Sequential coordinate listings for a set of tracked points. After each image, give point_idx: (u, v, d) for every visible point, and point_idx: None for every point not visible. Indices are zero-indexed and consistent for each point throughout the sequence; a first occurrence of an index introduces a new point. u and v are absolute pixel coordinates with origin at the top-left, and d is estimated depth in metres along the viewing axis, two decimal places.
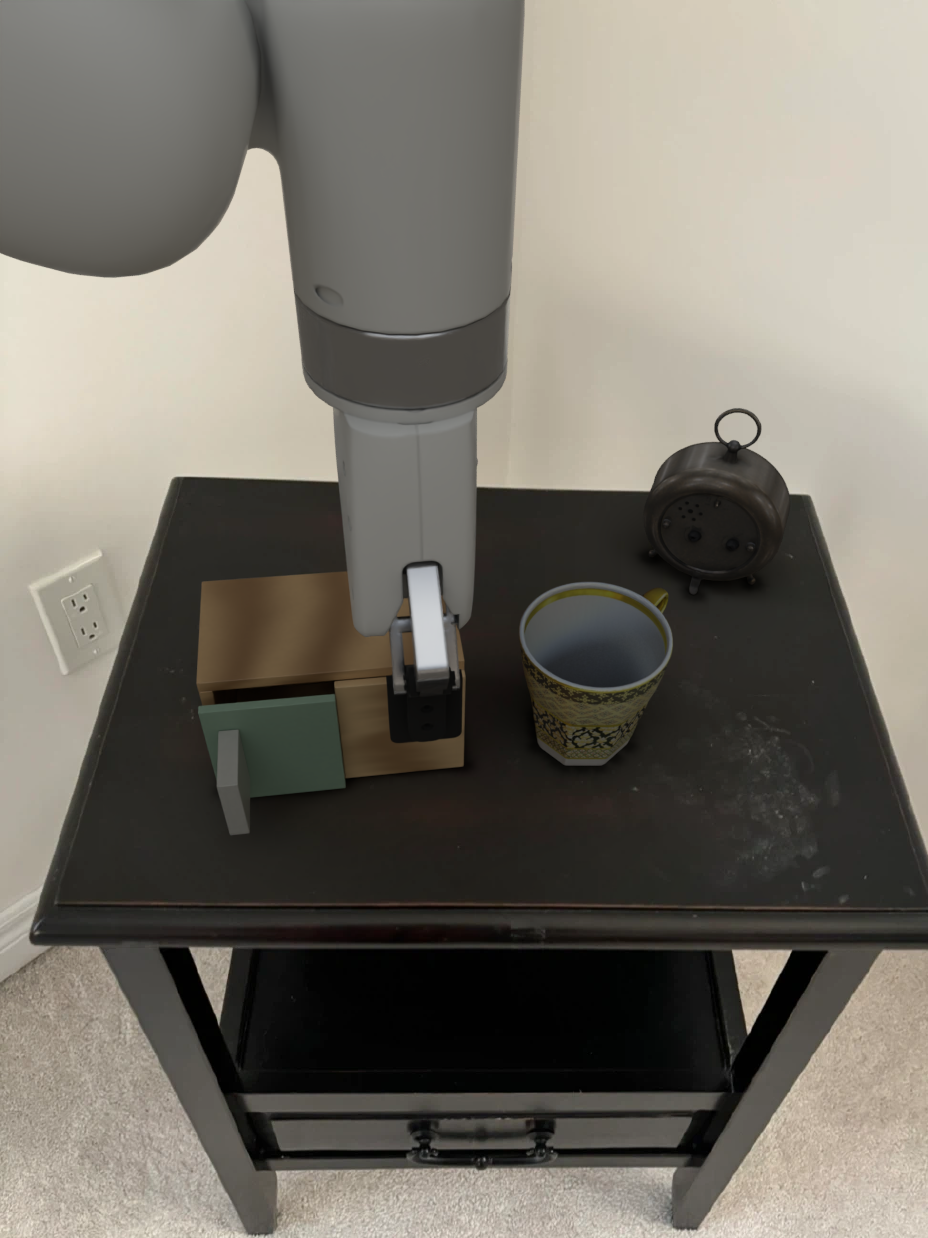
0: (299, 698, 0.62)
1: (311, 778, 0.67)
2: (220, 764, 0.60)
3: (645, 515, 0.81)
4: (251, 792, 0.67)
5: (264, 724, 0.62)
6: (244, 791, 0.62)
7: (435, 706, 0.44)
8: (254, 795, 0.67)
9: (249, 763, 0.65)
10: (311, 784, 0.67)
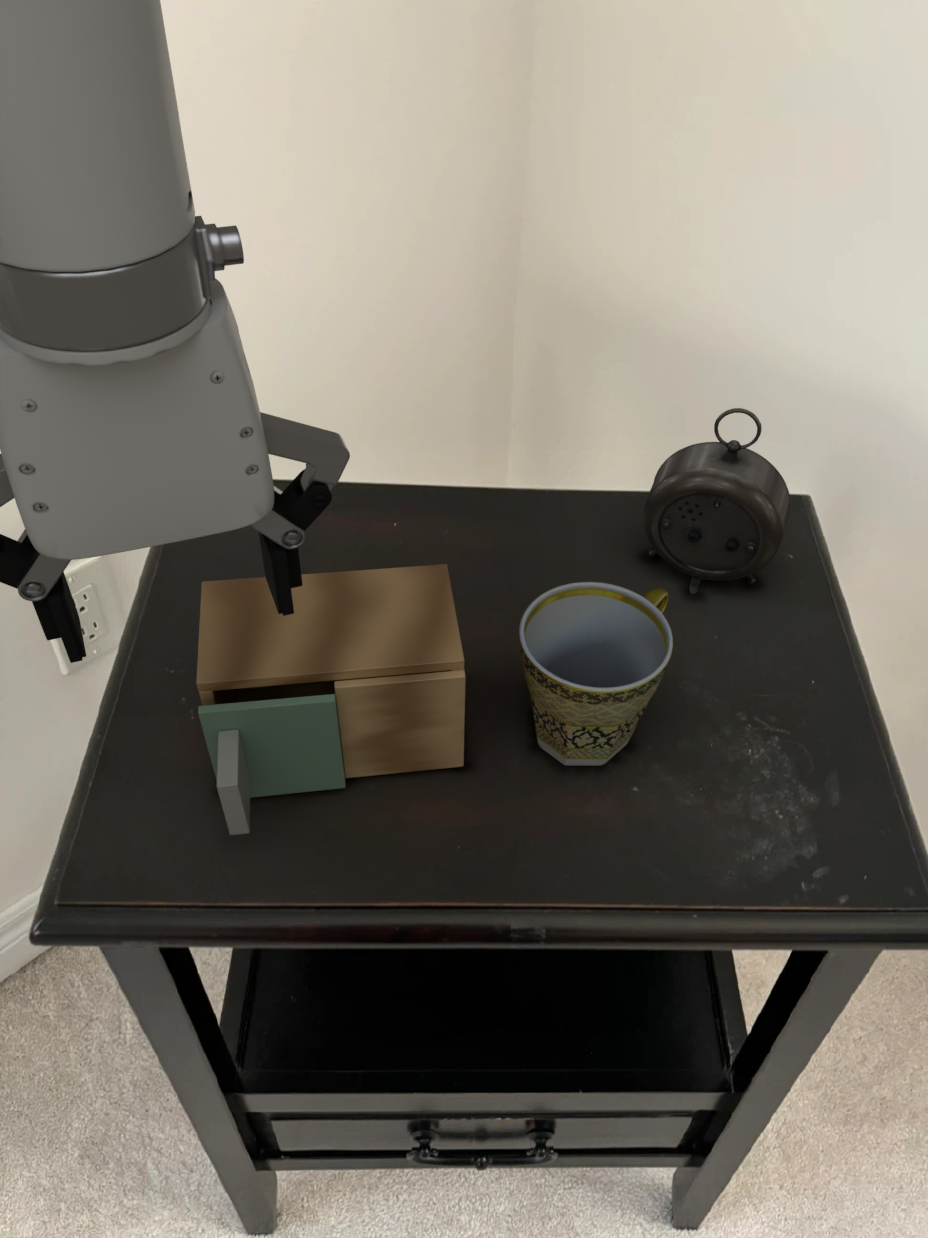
0: (299, 698, 0.62)
1: (311, 778, 0.67)
2: (220, 764, 0.60)
3: (645, 515, 0.81)
4: (251, 792, 0.67)
5: (264, 724, 0.62)
6: (244, 791, 0.62)
7: None
8: (254, 795, 0.67)
9: (249, 763, 0.65)
10: (311, 784, 0.67)
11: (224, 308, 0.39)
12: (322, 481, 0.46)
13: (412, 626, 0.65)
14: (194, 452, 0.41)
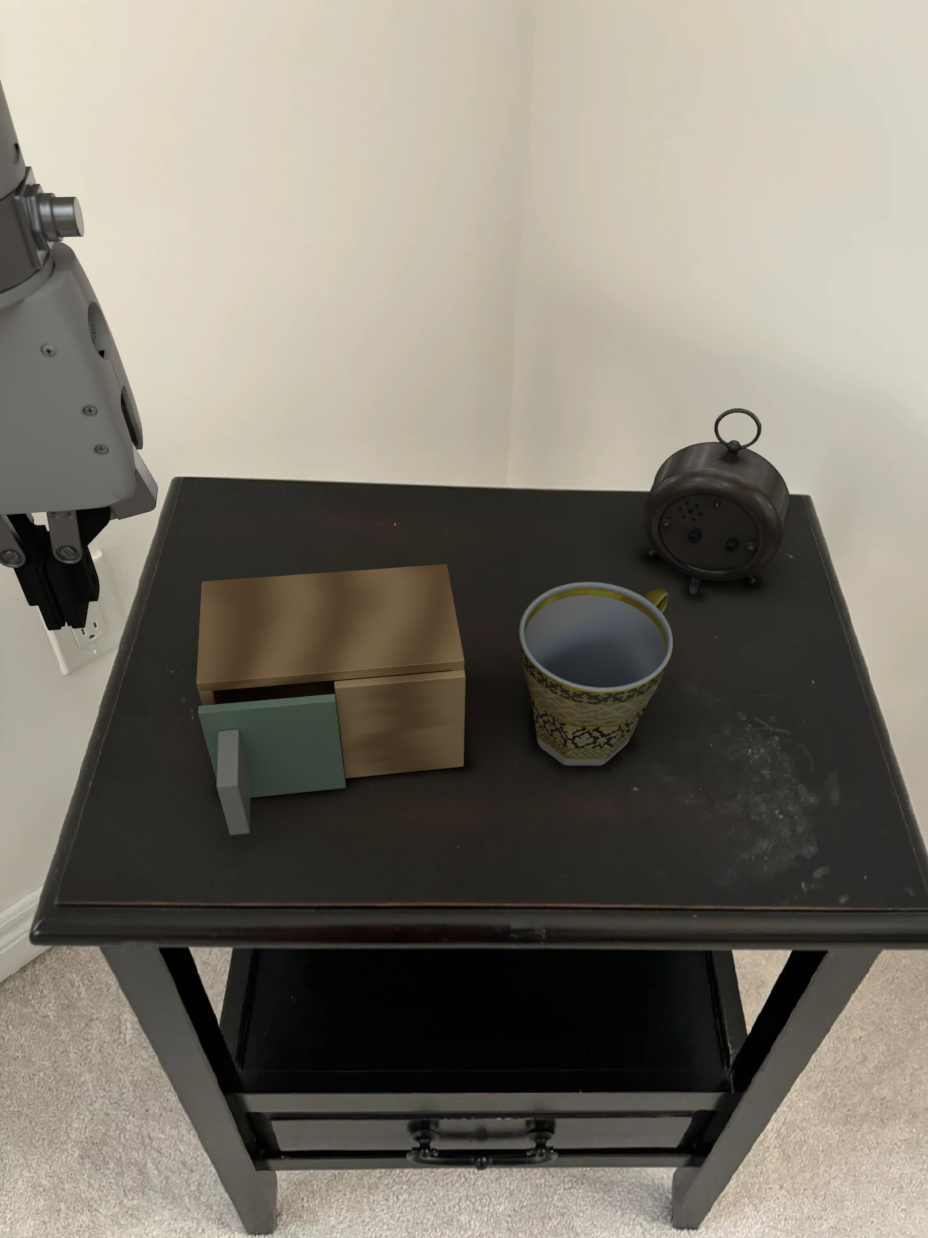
0: (299, 698, 0.62)
1: (311, 778, 0.67)
2: (220, 764, 0.60)
3: (645, 515, 0.81)
4: (251, 792, 0.67)
5: (264, 724, 0.62)
6: (244, 791, 0.62)
7: None
8: (254, 795, 0.67)
9: (249, 763, 0.65)
10: (311, 784, 0.67)
11: (61, 281, 0.37)
12: (111, 507, 0.45)
13: (412, 626, 0.65)
14: (32, 424, 0.40)
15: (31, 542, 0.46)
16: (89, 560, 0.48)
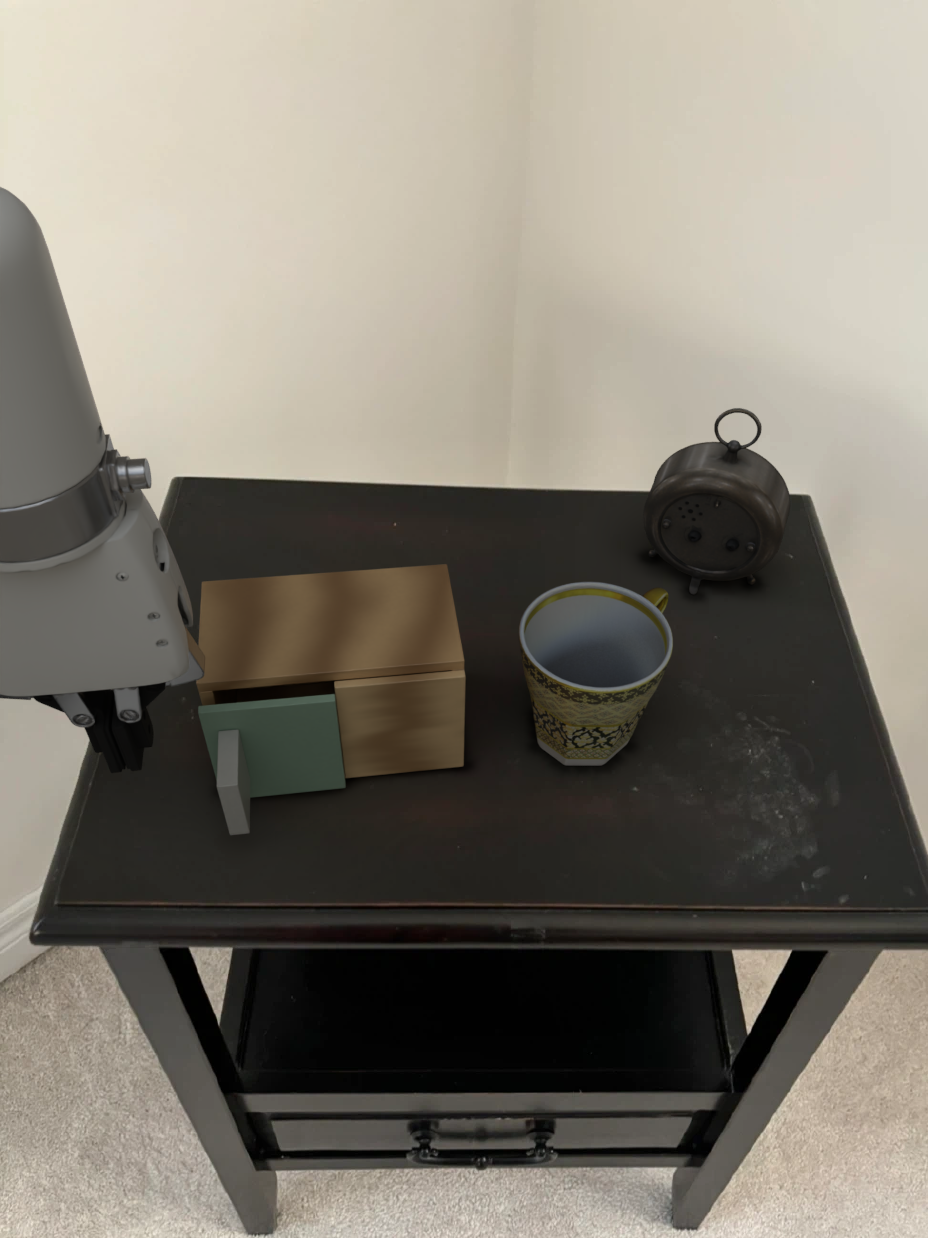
0: (299, 698, 0.62)
1: (311, 778, 0.67)
2: (220, 764, 0.60)
3: (645, 515, 0.81)
4: (251, 792, 0.67)
5: (264, 724, 0.62)
6: (244, 791, 0.62)
7: None
8: (254, 795, 0.67)
9: (249, 763, 0.65)
10: (311, 784, 0.67)
11: (133, 522, 0.46)
12: None
13: (412, 626, 0.65)
14: (107, 629, 0.48)
15: (99, 705, 0.55)
16: (145, 714, 0.57)
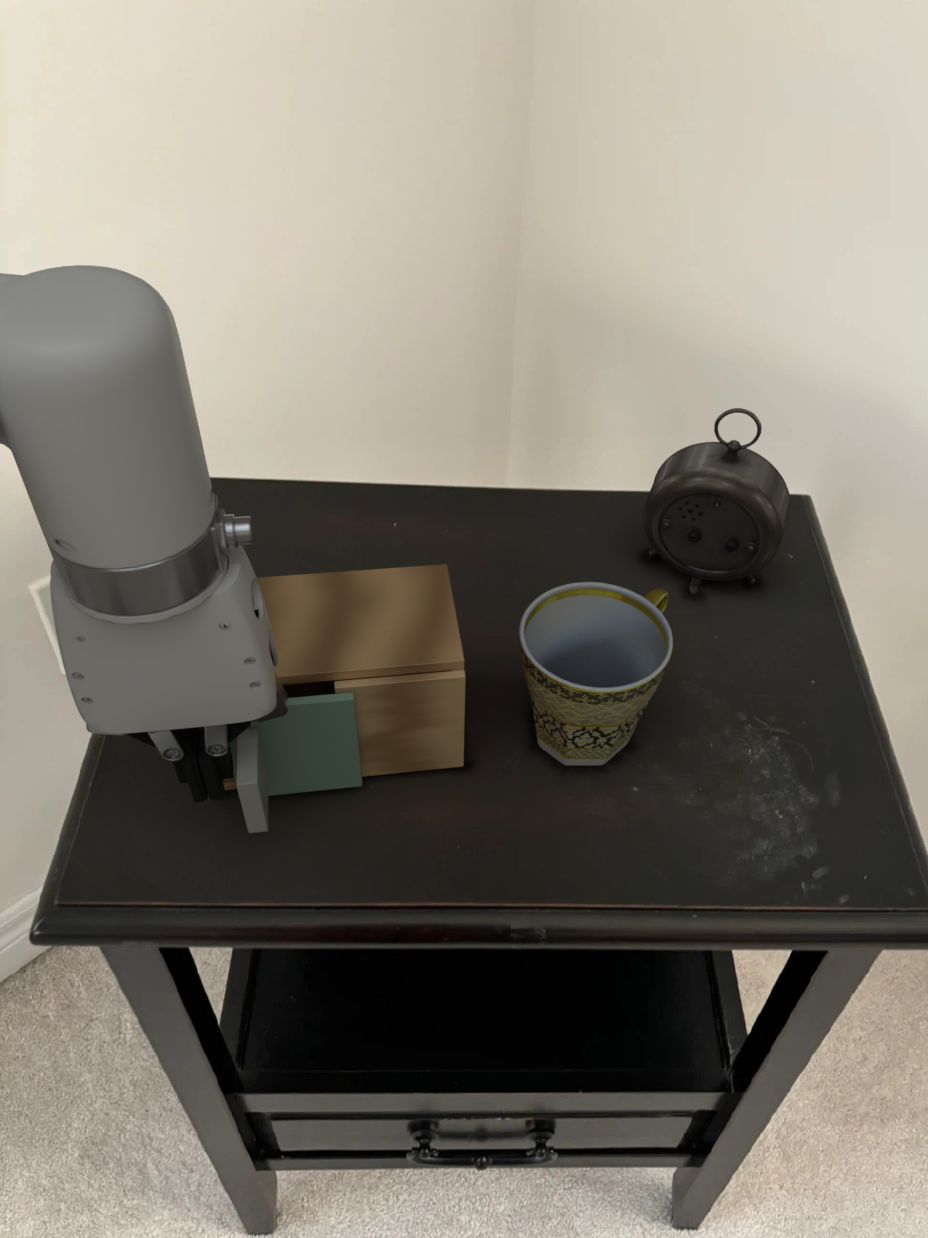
0: (318, 696, 0.62)
1: (328, 776, 0.67)
2: (239, 762, 0.60)
3: (645, 515, 0.81)
4: (268, 790, 0.67)
5: (283, 722, 0.62)
6: (263, 789, 0.62)
7: None
8: (271, 793, 0.67)
9: (267, 761, 0.65)
10: (328, 782, 0.67)
11: (236, 575, 0.49)
12: None
13: (412, 626, 0.65)
14: (206, 673, 0.51)
15: (187, 740, 0.58)
16: (228, 747, 0.60)
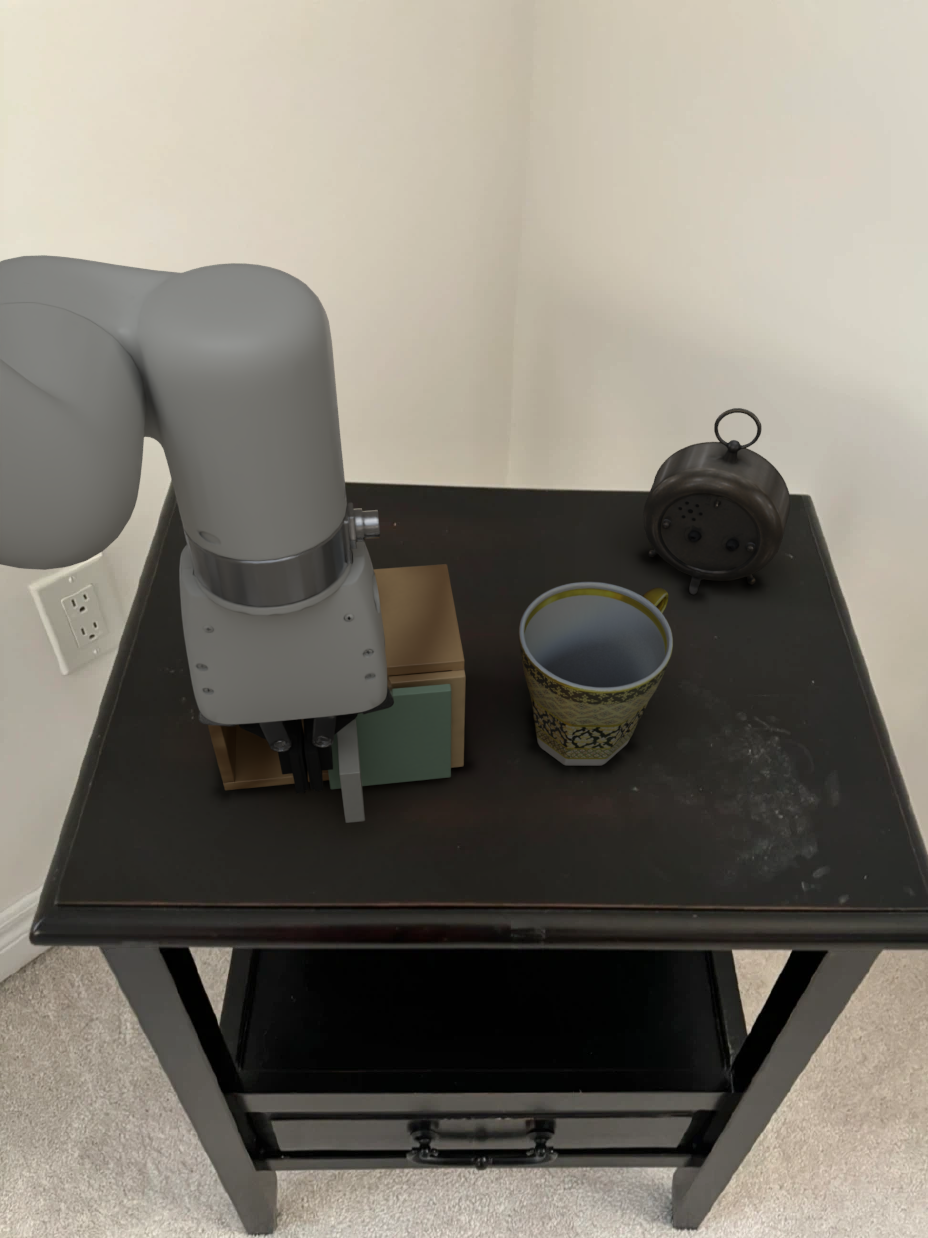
0: (416, 688, 0.63)
1: (419, 767, 0.68)
2: (341, 752, 0.61)
3: (645, 515, 0.81)
4: None
5: (380, 713, 0.63)
6: None
7: None
8: (362, 784, 0.68)
9: (361, 752, 0.66)
10: (418, 773, 0.68)
11: (361, 568, 0.50)
12: None
13: (412, 626, 0.65)
14: (326, 664, 0.52)
15: (293, 731, 0.59)
16: None
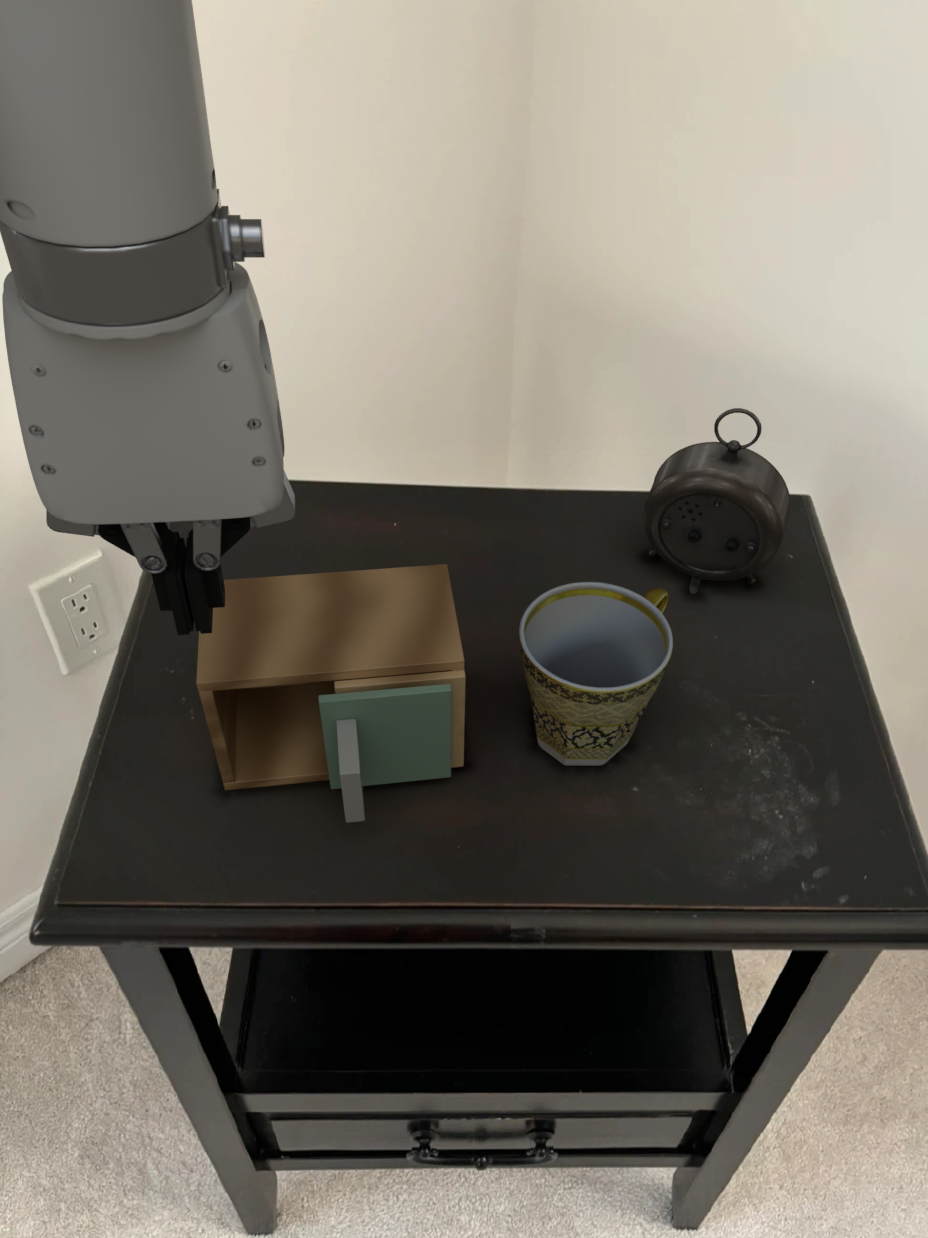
0: (416, 688, 0.63)
1: (419, 767, 0.68)
2: (341, 752, 0.61)
3: (645, 515, 0.81)
4: None
5: (381, 713, 0.63)
6: (361, 779, 0.63)
7: None
8: (362, 784, 0.68)
9: (362, 752, 0.66)
10: (418, 773, 0.68)
11: (241, 299, 0.39)
12: (252, 517, 0.47)
13: (412, 626, 0.65)
14: (199, 436, 0.41)
15: (171, 549, 0.47)
16: (219, 567, 0.50)
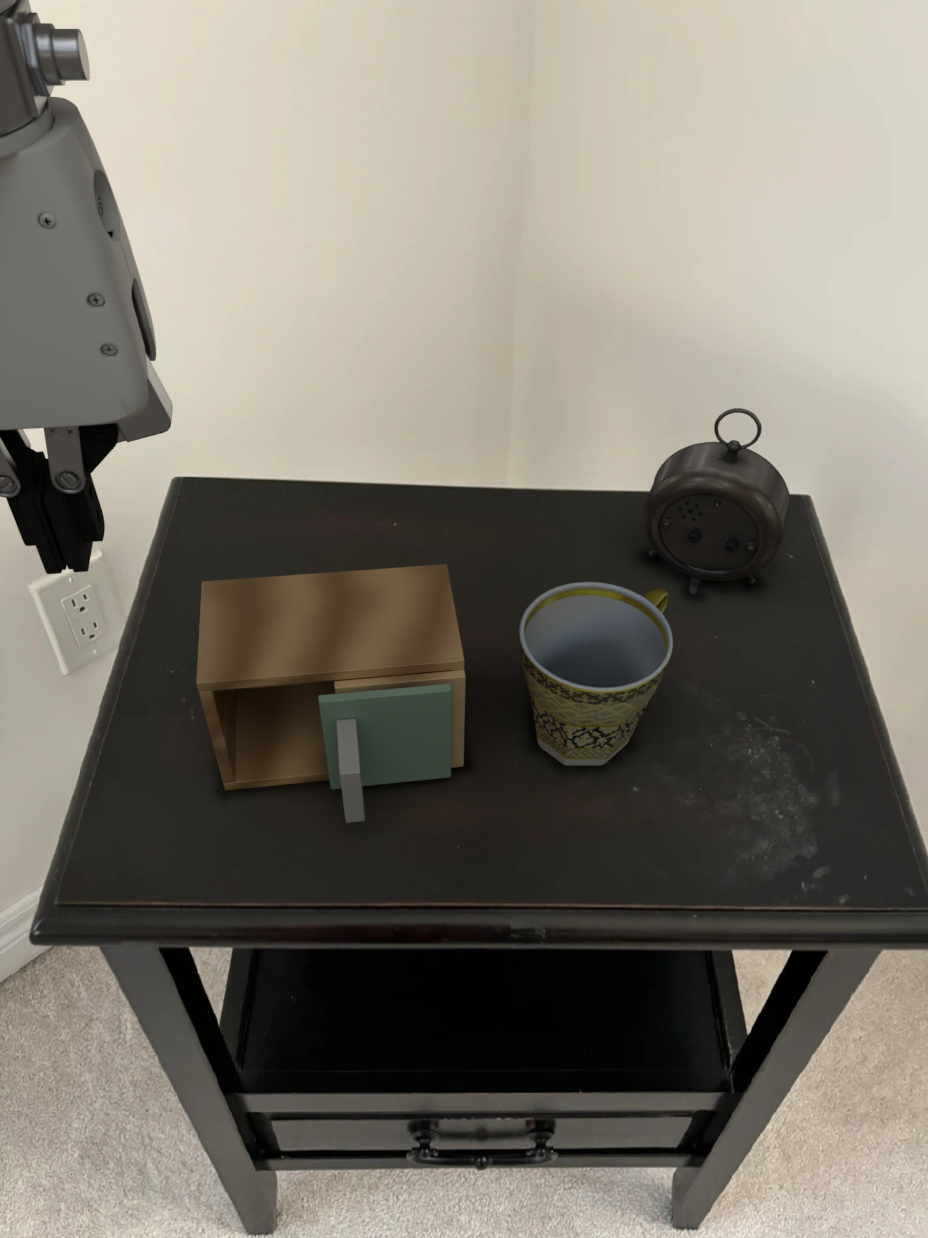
0: (416, 688, 0.63)
1: (419, 767, 0.68)
2: (341, 752, 0.61)
3: (645, 515, 0.81)
4: None
5: (381, 713, 0.63)
6: (361, 779, 0.63)
7: None
8: (362, 784, 0.68)
9: (362, 752, 0.66)
10: (418, 773, 0.68)
11: (62, 135, 0.31)
12: (119, 427, 0.39)
13: (412, 626, 0.65)
14: (28, 315, 0.34)
15: (27, 468, 0.40)
16: (93, 493, 0.42)
